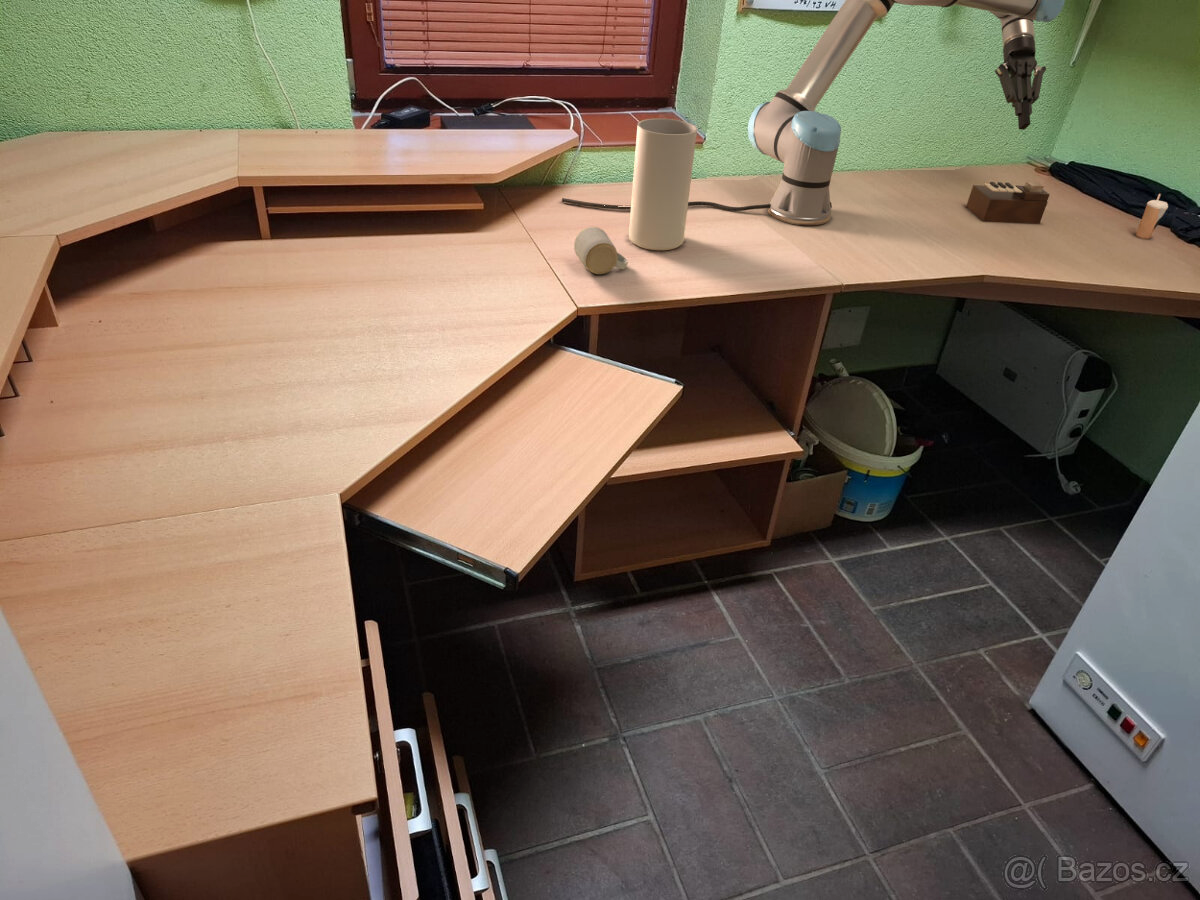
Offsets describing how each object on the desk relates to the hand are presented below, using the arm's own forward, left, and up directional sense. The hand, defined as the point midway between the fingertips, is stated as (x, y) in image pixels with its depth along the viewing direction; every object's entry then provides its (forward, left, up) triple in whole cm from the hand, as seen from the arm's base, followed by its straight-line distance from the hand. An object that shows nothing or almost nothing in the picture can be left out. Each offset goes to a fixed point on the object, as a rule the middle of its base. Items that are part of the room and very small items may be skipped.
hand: (1024, 126), depth 210 cm
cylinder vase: (-98, -39, -20) cm, 108 cm away
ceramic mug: (-111, -55, -20) cm, 126 cm away
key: (0, -13, -12) cm, 18 cm away
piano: (-4, -11, -19) cm, 23 cm away
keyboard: (-8, -14, -12) cm, 20 cm away
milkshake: (+28, -22, -20) cm, 41 cm away
